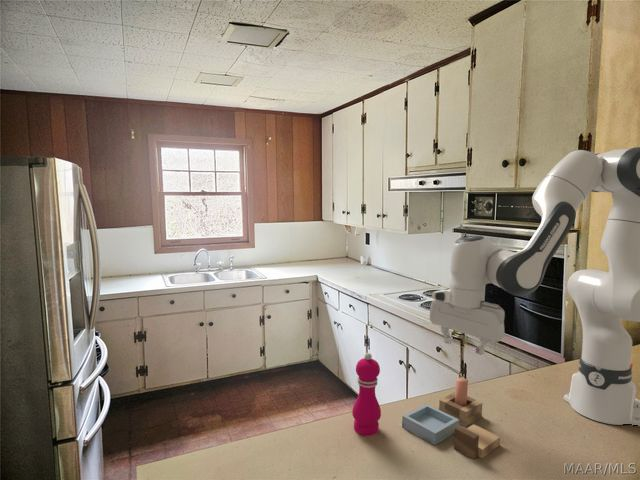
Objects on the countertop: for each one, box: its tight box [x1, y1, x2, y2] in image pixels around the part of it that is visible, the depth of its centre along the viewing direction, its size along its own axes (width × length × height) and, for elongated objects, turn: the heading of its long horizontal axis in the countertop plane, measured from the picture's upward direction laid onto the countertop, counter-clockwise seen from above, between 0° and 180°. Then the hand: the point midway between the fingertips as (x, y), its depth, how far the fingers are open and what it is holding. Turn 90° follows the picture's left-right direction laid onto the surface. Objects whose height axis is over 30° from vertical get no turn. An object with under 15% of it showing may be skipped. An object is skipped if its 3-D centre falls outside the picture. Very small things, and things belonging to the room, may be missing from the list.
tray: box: [401, 403, 460, 446], centre depth 106 cm, size 10×10×3 cm
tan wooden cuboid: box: [466, 423, 501, 459], centre depth 100 cm, size 8×7×2 cm
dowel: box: [454, 377, 469, 407], centre depth 113 cm, size 3×3×10 cm
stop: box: [453, 425, 479, 459], centre depth 97 cm, size 2×5×5 cm, turn 39°
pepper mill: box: [351, 352, 382, 437], centre depth 105 cm, size 7×7×20 cm
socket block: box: [438, 391, 483, 427], centre depth 113 cm, size 8×8×4 cm
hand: (463, 348), depth 111 cm, fingers open, 8 cm apart
